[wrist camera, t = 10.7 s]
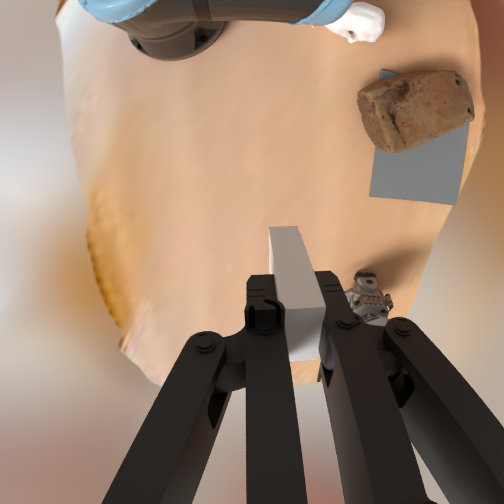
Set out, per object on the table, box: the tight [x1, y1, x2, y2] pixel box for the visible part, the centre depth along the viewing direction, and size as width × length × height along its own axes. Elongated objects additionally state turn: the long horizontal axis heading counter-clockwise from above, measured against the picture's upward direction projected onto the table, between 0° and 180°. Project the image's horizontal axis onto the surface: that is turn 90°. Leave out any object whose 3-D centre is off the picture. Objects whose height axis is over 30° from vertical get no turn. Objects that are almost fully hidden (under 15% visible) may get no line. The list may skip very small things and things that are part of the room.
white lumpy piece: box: [310, 2, 385, 43], centre depth 30 cm, size 6×8×12 cm
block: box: [357, 71, 475, 153], centre depth 35 cm, size 11×8×20 cm
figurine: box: [344, 273, 393, 326], centre depth 50 cm, size 9×12×15 cm
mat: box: [369, 70, 469, 205], centre depth 42 cm, size 22×20×1 cm
